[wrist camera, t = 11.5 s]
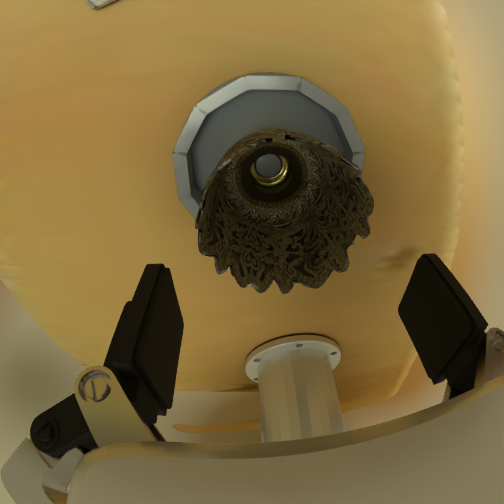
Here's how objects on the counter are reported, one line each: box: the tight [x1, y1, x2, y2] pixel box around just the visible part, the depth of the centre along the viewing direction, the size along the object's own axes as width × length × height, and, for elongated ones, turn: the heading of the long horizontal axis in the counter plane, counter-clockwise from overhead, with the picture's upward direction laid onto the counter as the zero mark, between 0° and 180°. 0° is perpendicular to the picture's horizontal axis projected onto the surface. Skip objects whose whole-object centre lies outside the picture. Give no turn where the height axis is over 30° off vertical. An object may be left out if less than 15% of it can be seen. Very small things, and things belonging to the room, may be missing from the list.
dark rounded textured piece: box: [195, 129, 374, 294], centre depth 14 cm, size 8×7×8 cm
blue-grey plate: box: [173, 73, 365, 219], centre depth 17 cm, size 12×12×2 cm
